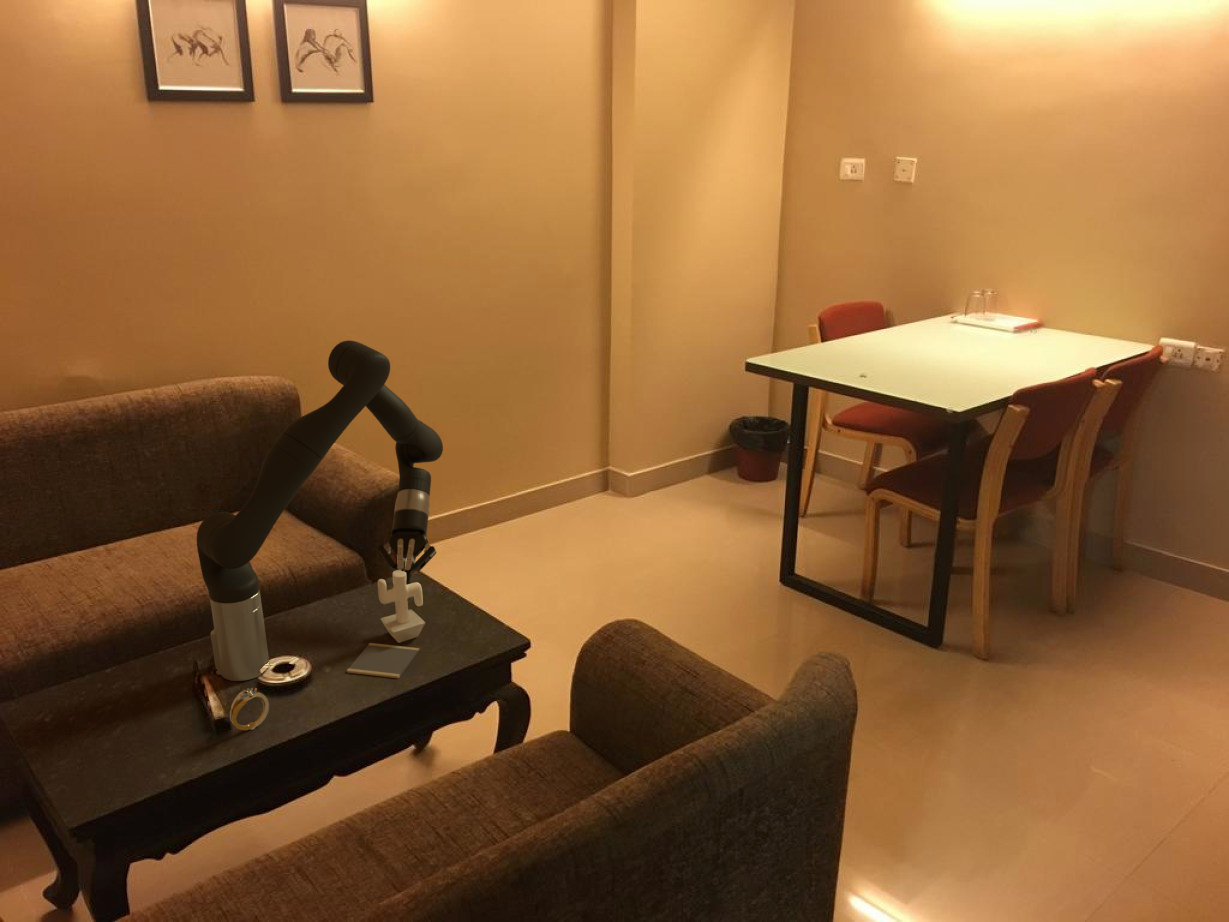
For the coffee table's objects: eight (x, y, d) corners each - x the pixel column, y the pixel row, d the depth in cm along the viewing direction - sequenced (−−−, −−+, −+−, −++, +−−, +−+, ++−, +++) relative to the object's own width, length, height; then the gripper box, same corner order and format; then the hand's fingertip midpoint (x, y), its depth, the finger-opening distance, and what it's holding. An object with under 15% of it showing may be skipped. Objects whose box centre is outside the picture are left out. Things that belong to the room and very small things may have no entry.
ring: (266, 717, 181) (261, 679, 179) (274, 724, 179) (269, 687, 177) (229, 732, 177) (224, 694, 174) (237, 740, 175) (231, 701, 172)
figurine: (431, 636, 210) (427, 573, 205) (390, 649, 204) (384, 584, 199) (417, 622, 215) (412, 560, 210) (376, 635, 210) (370, 572, 205)
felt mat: (346, 672, 196) (346, 670, 196) (370, 644, 206) (369, 642, 206) (398, 678, 194) (398, 676, 194) (419, 650, 204) (419, 648, 204)
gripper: (377, 507, 213) (368, 582, 206) (438, 507, 213) (430, 583, 206) (385, 520, 220) (376, 593, 213) (443, 520, 220) (436, 594, 213)
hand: (403, 588), depth 209 cm, fingers closed
